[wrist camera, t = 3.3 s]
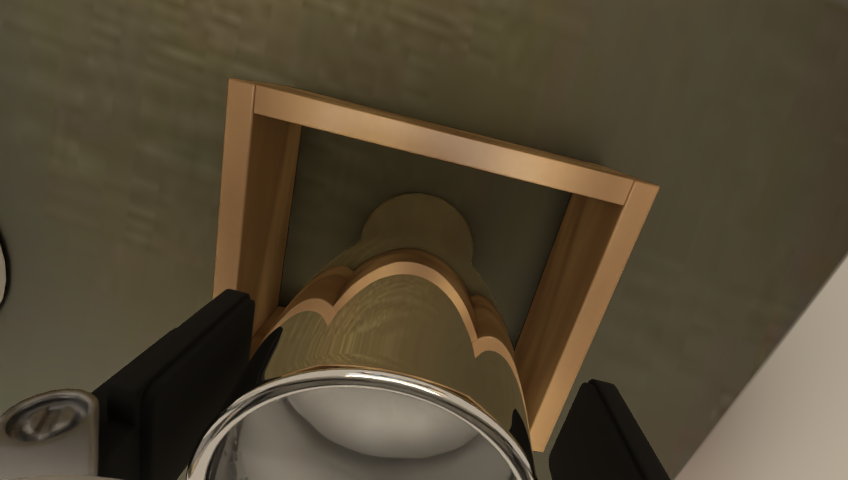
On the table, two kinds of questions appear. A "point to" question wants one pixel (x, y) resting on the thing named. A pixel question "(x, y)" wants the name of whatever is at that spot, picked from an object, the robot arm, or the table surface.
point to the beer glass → (380, 368)
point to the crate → (589, 183)
